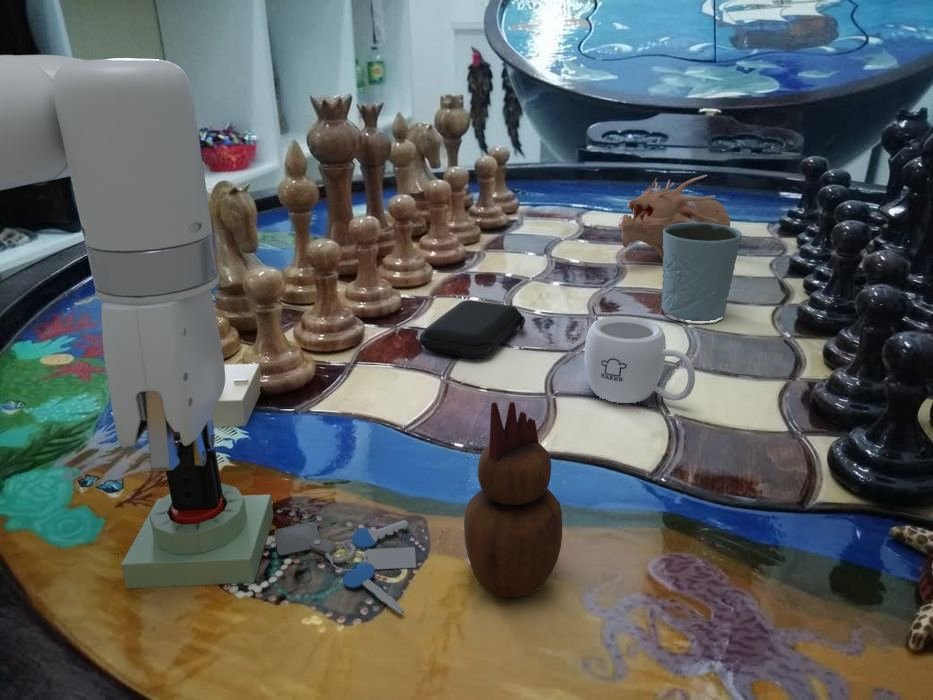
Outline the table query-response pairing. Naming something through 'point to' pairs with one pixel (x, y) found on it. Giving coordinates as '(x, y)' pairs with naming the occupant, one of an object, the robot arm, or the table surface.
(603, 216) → the table surface
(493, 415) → the wooden figurine
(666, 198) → the dragon head statue
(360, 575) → the key chain
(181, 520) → the release button
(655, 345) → the mug
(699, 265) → the embossed teal cup
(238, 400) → the plate
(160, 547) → the box
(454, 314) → the carrying case
